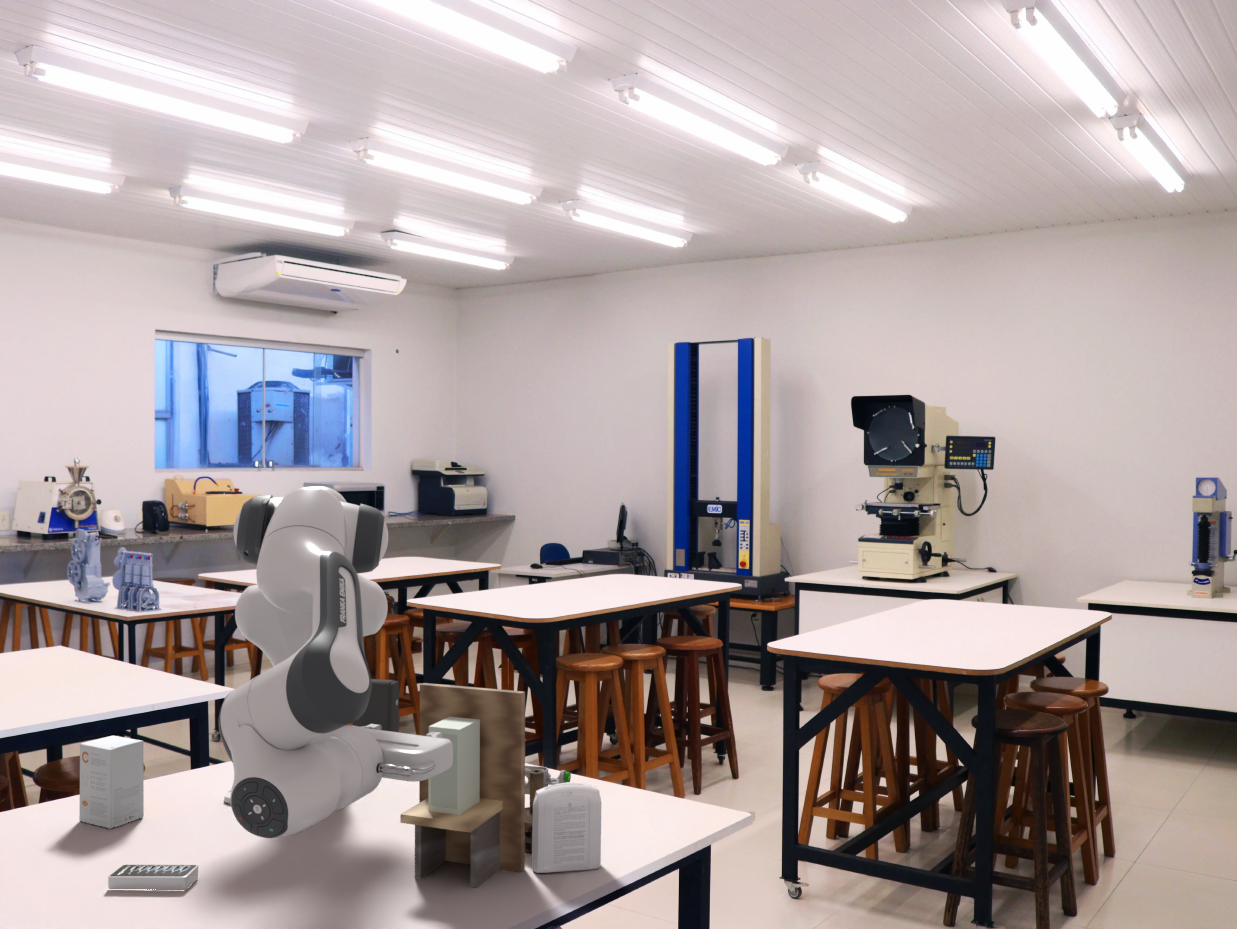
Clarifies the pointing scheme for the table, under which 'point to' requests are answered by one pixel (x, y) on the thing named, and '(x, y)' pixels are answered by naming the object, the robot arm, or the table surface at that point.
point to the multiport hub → (153, 877)
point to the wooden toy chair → (499, 818)
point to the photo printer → (566, 828)
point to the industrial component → (535, 785)
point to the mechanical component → (546, 777)
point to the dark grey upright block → (382, 706)
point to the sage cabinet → (457, 768)
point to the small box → (111, 781)
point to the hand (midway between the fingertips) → (407, 733)
